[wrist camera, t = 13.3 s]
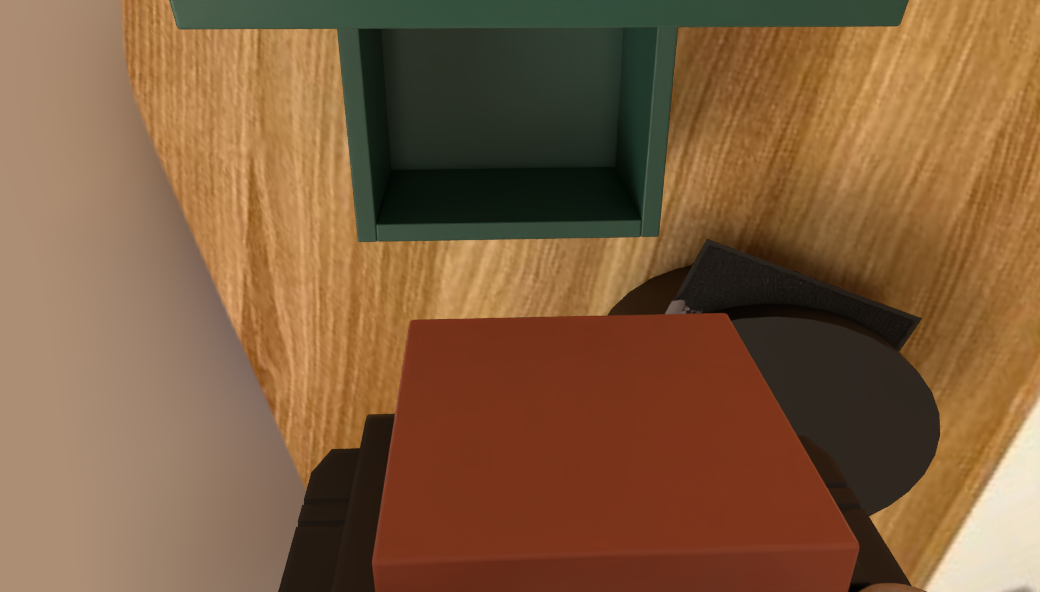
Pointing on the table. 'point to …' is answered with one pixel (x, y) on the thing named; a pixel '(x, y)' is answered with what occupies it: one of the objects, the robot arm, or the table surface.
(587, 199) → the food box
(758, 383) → the block
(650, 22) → the lid
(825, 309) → the waffle maker
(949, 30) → the table surface
